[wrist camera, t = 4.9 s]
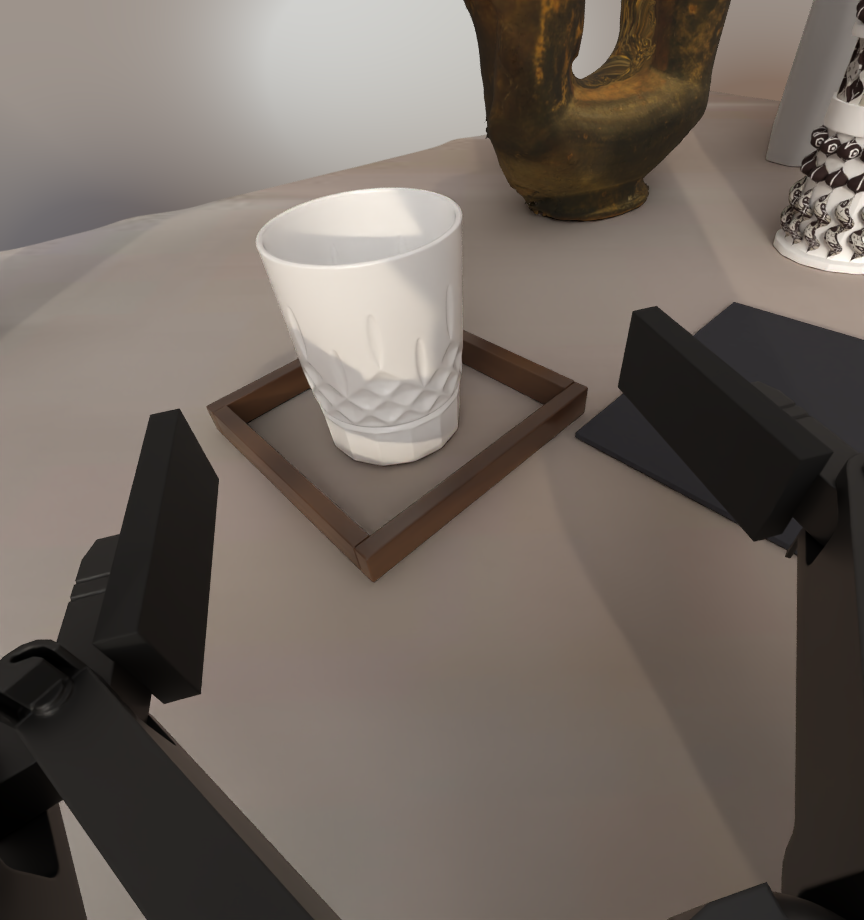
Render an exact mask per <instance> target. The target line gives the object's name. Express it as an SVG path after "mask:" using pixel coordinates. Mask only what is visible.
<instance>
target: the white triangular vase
mask: <svg viewBox="0 0 864 920" xmlns="http://www.w3.org/2000/svg"><path fill="white" fill-rule="evenodd" d="M859 1H860V0H813V3H812V7H811V10H810V13H809V16H808V19H807V22H806V25H805V28H804V31H803V35H802V37H801V41H800V44H799V47H798V50H797V53H796V56H795V59H794V62H793V66H792V68H791V72H790V75H789V78H788V81H787V84H786V87H785V90H784V93H783V96H782V99H781V102H780V105H779V109H778V112H777V115H776V118H775V121H774V124H773V127H772V132H771V136H770V141H769V145H768V150H767V154H766V159H767V160H768V161H771V162H775V163H779V164H783V165H787V166H802V165H801V161H802V159H803V158H804V157H805V156H807V155H809V154H811V153H812V152H814V151H815V150H817V149H816V148H814V147H813V146H812V145H811V143H810V141H811V134H812V132H813V130H815V129H816V128H818V127H820V126H822V125H823V124H824V117H825V115H826V112H827V110H828V107H829V104H830V102H831V99H832V96H833V94H834V92H837V91H838V90H839V87H840V85H841V82H842V80H843V77H844V74H845V71H846V69H847V66H848V64H849V61H850V58H851V56H852V53H853V51H854V49H855V46H856V43H857V40H858V38H859V37H856V36H853V35H852V29H853V26H854V24H855V22H856V21H858V20H859V19H858V18H857V17H856V13H857V10H856V6H857V4H858V2H859Z"/></svg>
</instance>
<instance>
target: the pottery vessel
mask: <svg viewBox="0 0 864 920" xmlns="http://www.w3.org/2000/svg"><path fill="white" fill-rule="evenodd" d="M730 1H731V0H621V15H620V32H619V37H618V41H617V44H616V46H615V48H614V51H613V52H612V54H611V55H610V57H609V58H608V59H607V61H606V62H605V63H604V64H603V65H602V66H601V67H600V68H599V69H597V70H596V71H595V72H593V73H592V74H590V75H588V76H587V77H585V78H583V79H578V78H577V77H575V76H574V74H573V72H572V62H573V61H574V60H575V58H576V57H577V56H578V53H579V49H580V44H581V39H582V33H583V26H584V12H585V0H464V2H465V5H466V8H467V9H468V11H469V13H470V16H471V18H472V21H473V24H474V27H475V31H476V35H477V41H478V47H479V54H480V66H481V75H482V80H483V87H484V100H485V107H486V121H487V128H486V132H487V137H488V138H489V139H490V140H491V142H492V144H493V147H494V149H495V152H496V155H497V158H498V161H499V165H500V167H501V169H502V171H503V173H504V175H505V177H506V179H507V181H508V183H509V184H510V186H511V187H512V188H514V189H516V191H517V192H518V193H519V194H520V195H521V196H523V197H524V199H525V201H526V202H525V204H526V203H527V204H528V206H529V209H530V208H532V209H531V210H532V211H534V213H535V214H538V211H541V212H543V216H546V215H548V216H549V217H553V218H555V219H561V220H583V221H588V220H597V219H603V218H608V217H613V216H616V215H620V214H623V213H625V212H628V211H630V210H633V209H635V208H637V207H639V206H640V205H642V204H643V203H644V202H645V201H646V199H647V196H648V195H649V192H648V190H649V186H647V184H645V183H644V181H643V178H644V177H645V176H646V175H647V174H648V173H649V172H650V171H652V169H654V168H655V167H656V166H657V165H658V164H659V163H660V162H661V161H662V160H663V159H664V158H665V157H666V156H667V155H668V154H669V153H670V152H671V151H672V150H673V149H674V148H675V147H676V146H677V145H678V144H679V143H680V142H681V141H682V140H683V138H684V137H685V136H686V135H687V134H688V133H689V131H690V130H691V129H692V128H693V127H694V126H695V125H696V124H697V122H698V121H699V120H700V119H701V117H702V116H703V114H704V112H705V109H706V107H707V103H708V97H709V90H710V83H711V75H712V69H713V64H714V60H715V56H716V52H717V48H718V44H719V41H720V37H721V34H722V30H723V27H724V23H725V19H726V16H727V12H728V9H729V5H730ZM487 137H486V138H487ZM530 202H531V203H530ZM534 202H537V204H535V203H534ZM529 203H530V204H529Z"/></svg>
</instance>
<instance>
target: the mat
mask: <svg viewBox="0 0 864 920" xmlns="http://www.w3.org/2000/svg"><path fill="white" fill-rule="evenodd" d="M693 336H694V337H695V338H696V339H697V340H699V341H700V342H701V343H702V344H703V345H705V346H706V347H707V348H708V349H710V350H711V351H712V352H713V353H714V354H716V355H717V356H718V357H719V358H721V359H722V360H723V361H724V362H725V363H727V364H728V365H729V366H730V367H732V368H733V369H734V370H735V371H736V372H738V373H739V374H740V375H741V376H742V377H744V378H745V379H746V380H747V381H749V382H750V383H752V382H756V381H760V382H762V383H764V384H766V385H769V386H771V387H773V388H775V389H778V390H780V391H781V392H782V393H783V394H785V395H786V396H787V397H789V398H790V399H791V400H792V401H794V402H795V405H796V406H798V405H799V406H800V407H801V408H803V409H804V410H805V411H806V412H808V415H809V416H813V417H814V418H815V419H816V420H818V421H819V422H820V423H822V424H823V425H824V426H825V427H827V428H828V429H829V430H830V431H832V432H833V433H834V434H835V435H837V436H838V437H839V438H841V439H842V440H843V441H844V442H846V443H847V444H848V445H849V446H851V447H852V448H853V449H855V450H856V451H857V452H859V453H863V452H864V340H862V339H859V338H855V337H852V336H849V335H845V334H842V333H838V332H835V331H832V330H828V329H825V328H821V327H818V326H814V325H811V324H808V323H804V322H801V321H797V320H794V319H791V318H787V317H784V316H780V315H777V314H773V313H770V312H767V311H763V310H760V309H756V308H753V307H750V306H746V305H743V304H739V303H736V302H733V303H732V304H731V305H730V306H729V307H727V308H726V309H725V310H724V311H722V312H721V313H720V314H719V315H718V316H716V317H715V318H714V319H713V320H712V321H710V322H709V323H708V324H707V325H706V326H704V327H703V328H702V329H701V330H699V331H698V332H697V333H696V334H695V335H693ZM575 437H576V438H578V439H580V440H582V441H584V442H586V443H587V444H589V445H591V446H593V447H595V448H597V449H599V450H601V451H602V452H604V453H606V454H608V455H610V456H612V457H614V458H616V459H617V460H619V461H621V462H623V463H625V464H627V465H629V466H631V467H633V468H634V469H636V470H638V471H640V472H642V473H644V474H646V475H648V476H649V477H651V478H653V479H655V480H657V481H659V482H661V483H663V484H664V485H666V486H668V487H670V488H672V489H674V490H676V491H678V492H680V493H681V494H683V495H685V496H687V497H689V498H691V499H693V500H695V501H696V502H698V503H700V504H702V505H704V506H706V507H708V508H710V509H711V510H713V511H715V512H717V513H719V514H721V515H723V516H725V517H727V518H728V519H730V520H732V521H734V522H736V521H735V520H734V518H733V517H732V516H731V515H730V514H729V513H728V512H727V510H726V509H725V508H724V507H723V506H722V505H721V504H720V502H719V501H718V500H717V499H716V498H715V497H714V496H713V495H712V493H711V492H710V491H709V490H708V489H707V488H706V487H705V485H704V484H703V483H702V482H701V481H700V480H699V479H698V477H697V476H696V475H695V474H694V473H693V472H692V471H691V470H690V468H689V467H688V466H687V465H686V464H685V463H684V462H683V460H682V459H681V458H680V457H679V456H678V455H677V454H676V452H675V451H674V450H673V449H672V448H671V447H670V446H669V445H668V443H667V442H666V441H665V440H664V439H663V438H662V437H661V435H660V434H659V433H658V432H657V431H656V430H655V429H654V427H653V426H652V425H651V424H650V423H649V422H648V421H647V420H646V418H645V417H644V416H643V415H642V414H641V413H640V412H639V410H638V409H637V408H636V407H635V406H634V405H633V404H632V403H631V401H630V400H629V399H628V398H627V397H626V396H625V395H624V393H623V394H622V395H621V396H620V397H618V398H617V399H616V400H615V401H614V402H612V403H611V404H610V405H609V406H608V407H606V408H605V409H604V410H603V411H601V412H600V413H599V414H598V415H597V416H595V417H594V418H593V419H592V420H591V421H589V422H588V423H587V424H586V425H585V426H583V427H582V428H581V429H580V430H578V431H577V432H576V435H575ZM736 523H737V522H736ZM802 528H803V527H802V526H801V525H800V524H799V523H798V522H797V521H796V520H795V519H794V518H792V519H791V521H790V522H789V524H788V526H787V527H786V529H785V530H784V532H783V534H780V535H776V536H773V537H769V538H766V539H768V540H770V541H772V542H774V543H775V544H777V545H779V546H781V547H783V548H785V549H787V550H788V549H789V547H790V546H791V544H792V543H793V541H794V540H795V538H796V537H797V535H798V534H799V532H800V531H801V529H802ZM794 554H796V555H798V550H796V551H795V552H794Z"/></svg>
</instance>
